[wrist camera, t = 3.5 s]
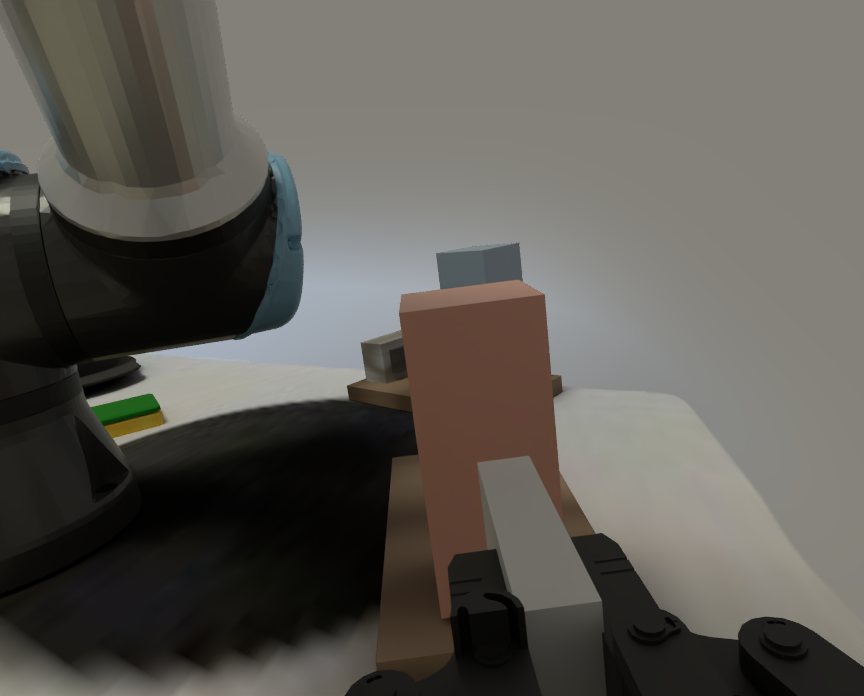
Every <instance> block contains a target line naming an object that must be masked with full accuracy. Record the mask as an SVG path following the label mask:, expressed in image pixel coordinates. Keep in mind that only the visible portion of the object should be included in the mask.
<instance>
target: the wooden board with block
mask: <svg viewBox="0 0 864 696" xmlns="http://www.w3.org/2000/svg"><path fill="white" fill-rule="evenodd" d="M361 348H362V354H363V360H364V367H365V374H366V379H364V380H361V381H359V382H356V383H353V384H350V385H348V386H347V389H348V395H349V400H352V401H357V402H362V403H367V404H373V405H378V406H383V407H388V408H393V409H398V410H403V411H408V412H413V410H412V403H411V396H410V388H409V381H408V374H407V367H406V360H405V352H404V345H403V338H402V331H401V330H400V331H397V332H394V333H391V334H388V335H384V336H381V337H378V338H374V339H371V340H368V341H365V342H362V343H361ZM551 378H552V391H553V396H555V395H557V394H559V393H561V392H562V383H561V382H562V381H561V376H559V375H551Z"/></svg>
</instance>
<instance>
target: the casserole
mask: <svg viewBox="0 0 864 696" xmlns="http://www.w3.org/2000/svg"><path fill="white" fill-rule="evenodd" d="M140 367H141V365H139V364H138V363H136V359H135V358H133V357H131V356H123V357H117V358H110V359H104V360H99V361H94V362H88V363H83V364H77V369H78V373H79V377H80V381H81V384H82V388H83V389H87V388H90V387H93V386H96V385H98V384H101V383H103V382H105V381H109V380H112V379H115V378H118V377H121V376H124V375H127V374H129V373H132V372H134V371H136V370H138V369H139V368H140Z"/></svg>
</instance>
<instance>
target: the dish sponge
mask: <svg viewBox="0 0 864 696" xmlns="http://www.w3.org/2000/svg"><path fill="white" fill-rule="evenodd" d="M90 408H91V409H92V410H93V412H94V413H95V415H96V416H97V417H98V419H99V420H100V422H101V423H102V424H103V426H104V427H105V429H106V430H107V432H108V433H109V434H110V436H111V437H112V438H115V437H119V436H122V435H126V434H130V433H134V432H137V431H141V430H145V429H149V428H153V427H156V426H160V425H162V424H164V421H163V417H162V413H161V410H160V409H161V408H160V405H159V404H158V402H157V400H156V399H155V397H154V396H153V394H146V395H141V396H137V397H133V398H129V399H124V400H120V401H116V402H112V403H107V404H103V405H99V406H95V407H90Z"/></svg>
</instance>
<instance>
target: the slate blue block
mask: <svg viewBox="0 0 864 696" xmlns="http://www.w3.org/2000/svg"><path fill="white" fill-rule="evenodd" d="M436 256H437V264H438V272H439V281H440V289H441V290H442V289H449V288H457V287H465V286H473V285H481V284H488V283H496V282H504V281H512V280H520V281H522V282H523V280H522V270H521V260H520V247H519V243H510V244H497V245H485V246H472V247H467V248H462V249H457V250H451V251H447V252H441V253H437V254H436Z"/></svg>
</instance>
